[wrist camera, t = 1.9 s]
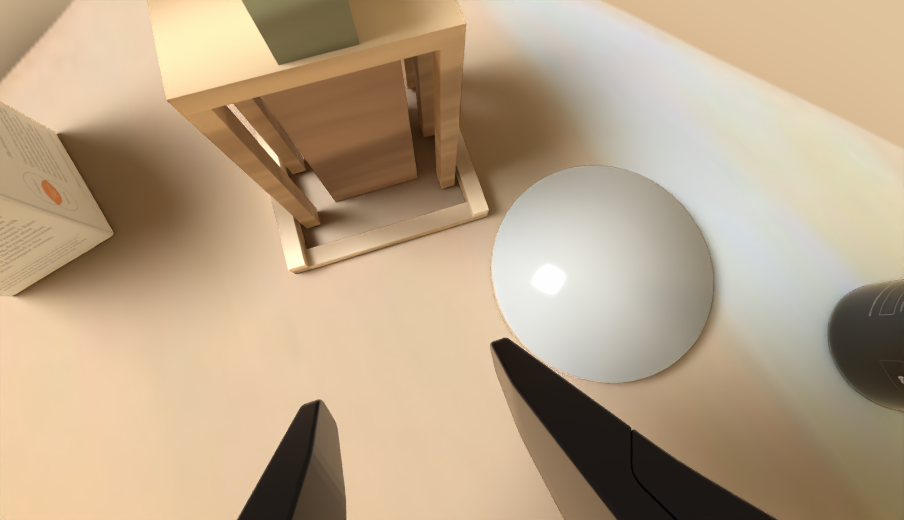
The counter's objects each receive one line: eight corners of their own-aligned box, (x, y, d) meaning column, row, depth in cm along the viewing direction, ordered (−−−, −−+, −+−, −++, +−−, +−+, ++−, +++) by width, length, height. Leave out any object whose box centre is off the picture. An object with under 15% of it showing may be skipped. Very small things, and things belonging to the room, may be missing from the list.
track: (486, 216, 24) (491, 201, 22) (296, 273, 23) (279, 264, 21) (400, -27, 28) (396, -62, 25) (232, 14, 27) (212, -19, 24)
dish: (601, 430, 21) (610, 435, 20) (446, 265, 23) (446, 261, 22) (742, 277, 23) (758, 274, 22) (589, 136, 25) (597, 126, 24)
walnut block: (417, 178, 24) (398, 41, 14) (335, 202, 24) (249, 80, 13) (394, 106, 25) (359, -73, 15) (315, 127, 25) (219, -42, 14)
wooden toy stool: (454, 185, 24) (475, -105, 9) (306, 228, 23) (48, -8, 8) (415, 72, 26) (376, -339, 10) (276, 109, 25) (12, -277, 10)
